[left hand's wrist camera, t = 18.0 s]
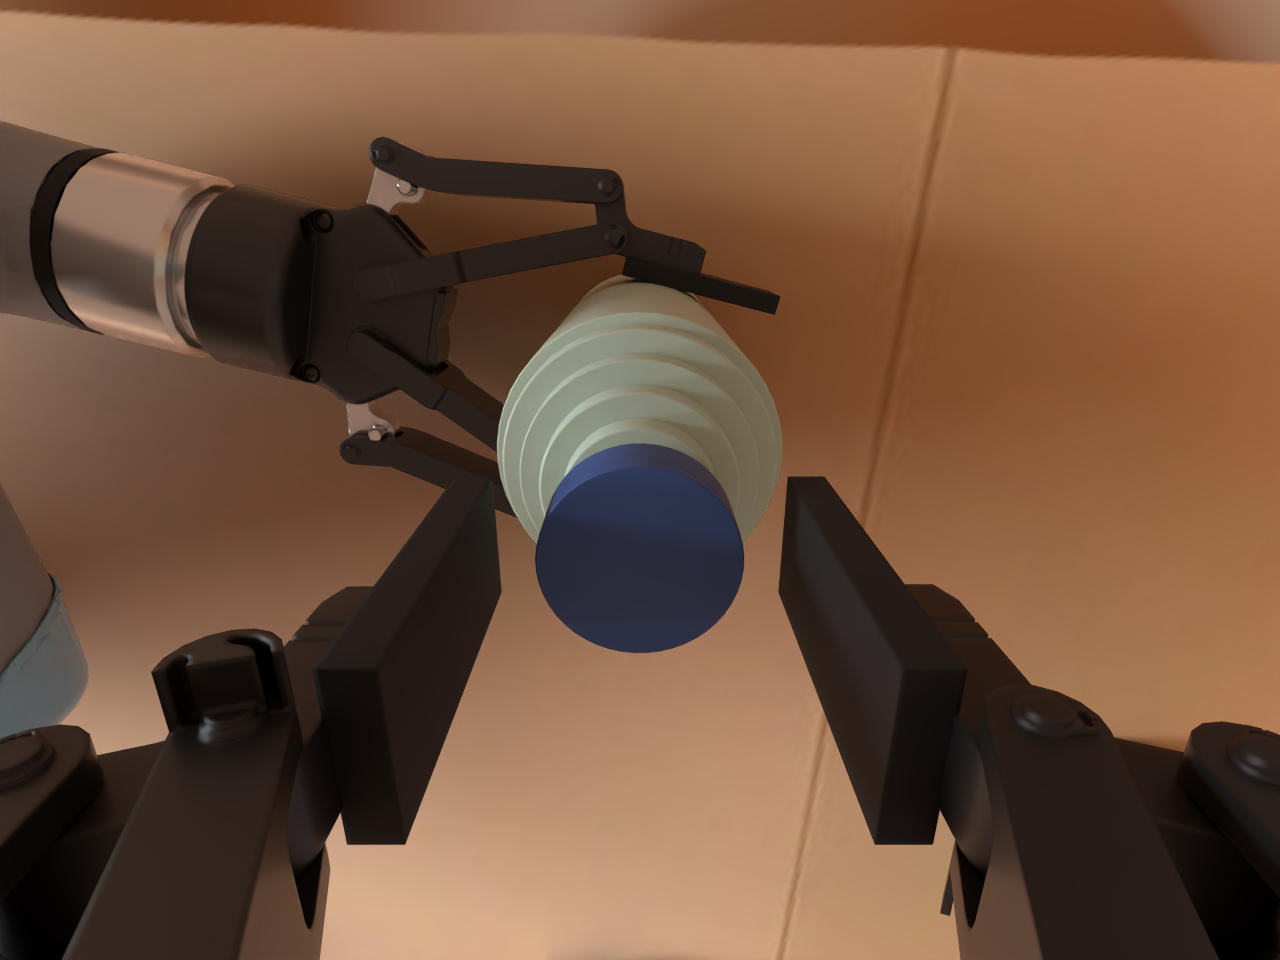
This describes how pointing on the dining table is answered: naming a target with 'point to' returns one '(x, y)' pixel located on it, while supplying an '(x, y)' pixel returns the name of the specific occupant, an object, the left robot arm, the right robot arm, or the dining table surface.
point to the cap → (639, 549)
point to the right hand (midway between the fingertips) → (741, 399)
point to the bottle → (639, 399)
